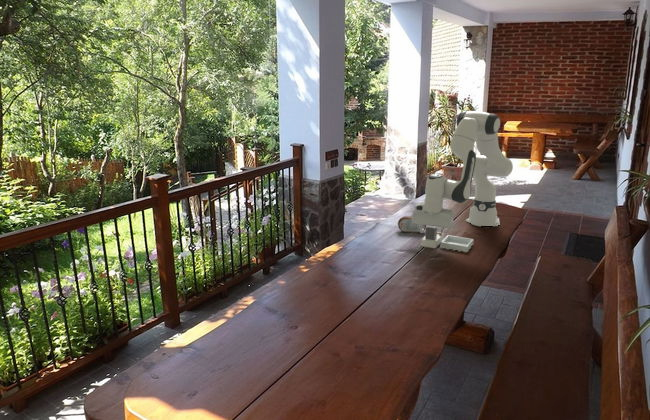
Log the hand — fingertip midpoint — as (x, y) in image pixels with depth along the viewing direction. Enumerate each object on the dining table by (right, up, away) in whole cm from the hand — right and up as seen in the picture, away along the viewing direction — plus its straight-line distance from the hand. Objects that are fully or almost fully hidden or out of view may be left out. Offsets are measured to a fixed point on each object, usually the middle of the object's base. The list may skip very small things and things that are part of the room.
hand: (431, 234), depth 243 cm
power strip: (+3, -4, +7) cm, 9 cm away
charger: (0, -3, +1) cm, 4 cm away
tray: (+13, -6, 0) cm, 14 cm away
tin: (-6, 0, +22) cm, 22 cm away
